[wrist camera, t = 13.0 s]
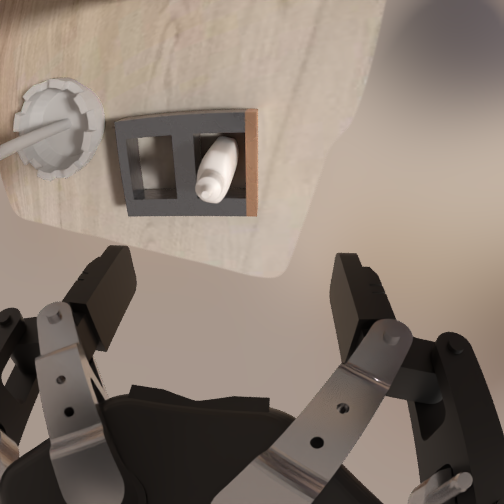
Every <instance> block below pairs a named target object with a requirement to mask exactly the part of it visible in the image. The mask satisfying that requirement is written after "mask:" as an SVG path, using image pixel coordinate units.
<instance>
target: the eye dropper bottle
mask: <svg viewBox="0 0 504 504" xmlns="http://www.w3.org/2000/svg"><path fill="white" fill-rule="evenodd" d="M238 157H239V150H238V144H237V141H236V140H235V139H233V138H229V137H224V136H220V137H219V138H217V140H216V141H215V142H214V143H213V145H212V146H211V147H210V149H209V150H208V151H207V153H206V154H205V156H204V158H203V159H202V161H201V164H200V166H199V169H198V173H197V182H196V185H195V191H196V193H197V196H198V197H199V198H201V200H203V201H205V202H209V203H219V202H220V201H221V200H222V199H223V198H224V196H225V195H226V193H227V191H228V189H229V187H230V184H231V181H232V178H233V175H234V172H235V170H236V167H237V163H238Z"/></svg>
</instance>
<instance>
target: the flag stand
mask: <svg viewBox="0 0 504 504" xmlns="http://www.w3.org/2000/svg"><path fill="white" fill-rule="evenodd" d="M23 98H24V99H25V102H24V104H23V107H22V110H21V112H18V113H15V118H14V127H13V132H19V137H17V138H15V139H12V140H10V141H8V142H6V143H4V144H1V145H0V160H2V159H4V158H6V157H8V156H10V155H12V154H14V153H16V152H18V154H19V156H20V159H21V160H22V162H23V163H24V165H27V164H28V163H31V164H32V165H33V167H34V168H35V169H37V170H38V173H37V177H39V178H41V179H43V180H48V181H52V180H54V179H55V178H64V177H65V179H66V178H68V177H70V176H72V175H73V174H75V173H76V172H78V171H79V170H81V169H82V168H83V167H84V166H86V165H87V164H88V163H89V161H90V160H91V159H92V157H93V156H94V153H95V151H96V149H97V147H98V146H99V144H100V142H101V140H102V137H103V133H104V128H105V114H104V109H103V106H102V104H101V101H100V99H99V98H98V96H97V95H96V94H95V93H94V92H93V91H92V90H91V89H90V88H88V87H87V86H85V85H83V84H81V83H80V82H78V81H77V80H74V79H71V78H63V77H60V78H53V79H49V80H46V81H44V82H42V83H40V84H35V85H33V86H32V87H31V88H30V89H29V90H28V91H27V92H26V93H25V94H24V96H23Z"/></svg>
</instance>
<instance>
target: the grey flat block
mask: <svg viewBox="0 0 504 504" xmlns="http://www.w3.org/2000/svg"><path fill="white" fill-rule="evenodd" d="M114 123H115V132H116V140H117V148H118V156H119V163H120V170H121V177H122V183H123V189H124V195H125V201H126V206H127V212H128V216H257V210H258V109H219V110H198V111H182V112H170V113H159V114H149V115H140V116H132V117H126V118H123V119H121V120H118V121H116V122H114ZM237 132H245V151H246V188H229V189H228V191H227V193H226V195H225V196H224V198H223V199H222V200H221V201H220V202H219V203H209V202H205V201H203V200H201V198H199V197H198V196H197V193H196V191H195V185H196V182H197V173H198V169H199V166H200V164H201V145H200V133H237ZM166 135H172V147H173V159H174V169H175V180H176V189H146V190H144V186H143V179H142V172H141V164H140V156H139V147H138V138H142V137H153V136H166Z"/></svg>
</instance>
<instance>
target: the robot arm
mask: <svg viewBox="0 0 504 504" xmlns="http://www.w3.org/2000/svg"><path fill="white" fill-rule="evenodd" d="M136 284H137V281H136V275H135V271H134V267H133V263H132V258H131V253H130V250H129V248H128V246H116V245H115V246H114V245H110V246H108V247H107V249H106V250H105V251H104V253H103V254H102V255H101V257H98V258H96V259H95V260H93V261H92V262H91V263H89V264H88V265H87V267H86V268H85V269H84V271H83V273H82V274H81V275H80V276H79V278H78V281H76V282H75V283H74V285H73V286H72V287H71V289H70V290H69V292H68V293H67V295H66V296H65V298H64V299H63V301H62V302H54V303H51V304H49V305H47V306H45V307H44V308H43V309H42V310H41V311H40V312H39V314H38V316H37V317H33V318H24V319H23V317H22V315H21V313H20V311H19V310H18V309H16V308H8V309H5V310H3V311H1V312H0V504H383V503H382V502H381V501H380V500H379V499H378V498H377V497H376V496H375V495H374V494H372V493H371V492H370V491H369V490H368V489H367V488H366V487H365V486H364V485H363V484H362V483H361V482H360V481H359V480H358V479H357V478H356V477H355V476H354V475H353V474H352V473H351V472H350V471H349V470H347V468H345V466H344V465H343V464H342V463H343V461H344V460H345V458H346V457H347V456H348V454H349V453H350V451H351V450H352V448H353V447H354V445H355V444H356V442H357V441H358V439H359V438H360V436H361V435H362V433H363V432H364V430H365V428H366V427H367V425H368V424H369V422H370V420H371V419H372V417H373V415H374V414H375V412H376V410H377V409H378V407H379V405H380V403H381V402H382V400H383V399H384V397H385V396H389V397H394V398H399V399H404V400H407V402H408V408H409V413H410V418H411V423H412V429H413V435H414V441H415V447H416V454H417V460H418V468H419V475H420V483H421V484H420V485H418V486H417V487H416V488H415V489H414V490H413V491H412V492H411V494H410V496H409V499H408V504H504V435H503V431H502V428H501V424H500V421H499V418H498V415H497V412H496V409H495V406H494V403H493V400H492V397H491V395H490V392H489V389H488V386H487V384H486V381H485V378H484V376H483V373H482V370H481V368H480V366H479V363H478V361H477V358H476V356H475V354H474V351H473V349H472V346H471V345H470V343H469V342H468V341H467V339H465V338H464V337H463V336H461V335H459V334H457V333H454V332H445V333H442V334H441V335H440V336H439V337H438V338H437V340H436V342H432V341H428V340H423V339H419V338H415V337H413V335H412V333H411V331H410V329H409V328H408V327H407V326H406V325H405V324H403V323H402V322H400V321H397V320H396V318H395V315H394V313H393V310H392V308H391V305H390V303H389V301H388V298H387V295H386V294H385V291H384V288H383V286H382V284H381V282H380V279H379V276H378V275H377V274H376V273H375V272H374V271H373V270H372V269H371V268H370V267H362V265H361V262H360V260H359V258H358V255H357V254H356V253H337V254H336V257H335V263H334V268H333V273H332V279H331V284H330V304H331V309H332V313H333V318H334V323H335V329H336V333H337V339H338V344H339V349H340V355H341V361H342V363H341V364H340V365H339V367H338V368H337V369H336V371H335V372H334V373H333V374H332V375H331V377H330V378H329V379H328V381H327V382H326V383H325V385H324V386H323V387H322V388H321V389H320V391H319V392H318V393H317V394H316V396H315V397H314V398H313V399H312V401H311V402H310V403H309V404H308V405H307V406H306V408H305V409H304V410H303V411H302V412H301V414H300V415H299V416H298V417H297V418H295V417H293V416H291V415H289V414H287V413H285V412H283V411H280V410H277V409H273V408H270V407H269V401H270V398H260V397H237V396H232V397H226V398H219V399H211V400H203V401H194V400H191V399H188V398H185V397H183V396H180V395H176V394H174V393H172V392H169V391H166V390H164V389H157V388H150V387H144V386H137V385H132V387H131V389H130V393H129V394H124V395H119V396H116V397H112V398H109V396H108V394H107V392H106V389H105V386H104V384H103V381H102V378H101V375H100V373H99V370H98V367H97V364H96V361H95V359H94V357H93V354H94V352H95V350H98V351H104V352H107V350H108V348H109V346H110V343H111V341H112V339H113V337H114V335H115V333H116V330H117V328H118V326H119V324H120V322H121V320H122V318H123V316H124V314H125V312H126V310H127V308H128V305H129V303H130V301H131V299H132V297H133V295H134V293H135V291H136ZM10 357H11V359H12V360H13V362H14V363H15V367H14V369H13V370H12V373H11V374H10V377H9V379H8V380H7V383H6V385H5V386H4V385H3V383H2V379H1V374H2V371H3V369H4V367H5V365H6V364H7V362H8V360H9V358H10ZM39 391H40V396H41V402H42V407H43V412H44V416H45V421H46V425H47V429H48V433H49V437H50V438H48V439H47V440H45V441H44V442H42V443H41V444H40V445H38V446H37V447H35V448H34V449H32V450H31V451H29V452H27V453H26V454H24V455H23V456H21V457H20V458H19V449H18V446H19V443H20V440H21V437H22V434H23V431H24V429H25V426H26V423H27V421H28V418H29V416H30V413H31V411H32V408H33V406H34V403H35V400H36V398H37V396H38V393H39Z"/></svg>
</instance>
